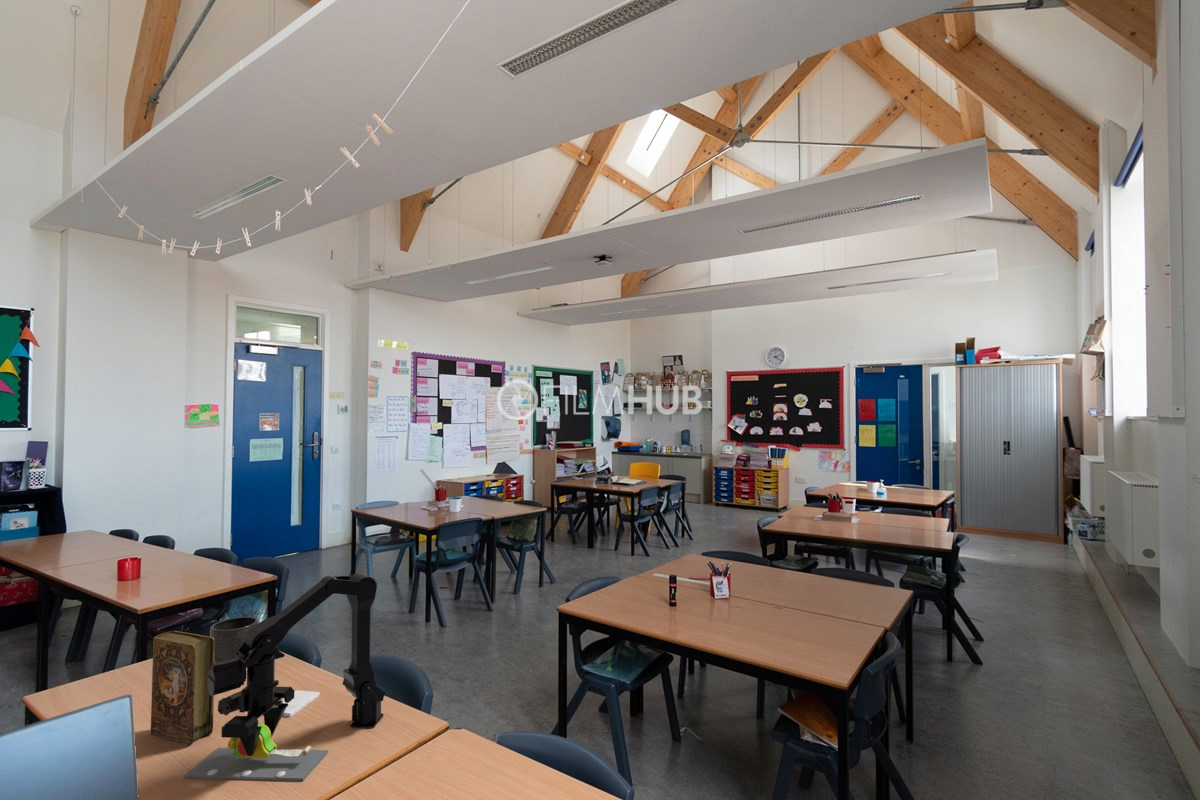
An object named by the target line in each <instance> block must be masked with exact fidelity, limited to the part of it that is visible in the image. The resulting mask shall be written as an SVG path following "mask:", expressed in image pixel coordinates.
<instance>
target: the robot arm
mask: <svg viewBox="0 0 1200 800" xmlns="http://www.w3.org/2000/svg"><path fill="white" fill-rule="evenodd" d="M377 588H378V583H377V580H375V578H374V577H372V576H369V575H366V574H364V573H360V572H356V573H353V574H352V575H338V576H336V575H335V576H334V575H326V576H324V577H322V578H321V579H320V581H319V582H317V583H316V584H315V585H314V586H312V587H311V588H310V589H308V590H307V591H306V592H305V593H303V594H302V595H301V596H300V597H298V598H297V599H296V600H295V601H293V602H292V603H290V605H288V606H287V607H286V608H284V609H283V610H282V611H280V612H279V613H277V614H275V615H272V616H270V617H267V618H265V619H263V620H261V621H259V623H258V624H256V625H255V626H253V627H251V628H250V629H249V630H248V631H247V633H246V636H245V640H244V642H243V643H242V645H241V646H240V647H239V649H238V650H237V652H236V653H235V655H234V656H235V657H236V658H234V659H230V660H227V661H223V662H216V661H215V662H214V663H212V664H211V669H210V671H209V676H208V677H207V683H208V690H209V694H210V696H214V697H215V696H216V695H220V694H223V693H226V692H227V693H228V692H229V691H233V690H237V689H239V688H240V689H241V687H242V686H244V685H245V682H246V686H245V687H243V688H242V689H241V690H239V691H236V692H235V693H232V694H231V695H228V696H226V697H222V698H221V699H219V700H218V702H217V712H218V714H220V715H224V716H229V714H231V713H234V712H236V711H239V713H245V712H247V715H235V716H234V717H232V718H231V719H230V720H228V721H226V722H225V724H224V725H223V726H222V727H221V738H229V739H231V738H240V740H241V741H242V743H243V746H244V748H245V751H246V753H247V755H248V756H252V755H253V754H254V751H255V748H256V745H257V741H258V738H259V735H260V732H261V728H262V727H261V726H258V723H259V719H260V718H261V717H262V716H263V722H264V723H263V724H265V725H266V726H267V727H268V728H269V729H270V731H271V737H272V738H273V736H274V734H275V731H276V729H277V727H278V725H279V723H280V721H281V719H282V717H283V716H282V715H283V713H284V711H285V709H286V707H287V706H288V703H289V702H290V701H291V700H292V699H294V691H295V689H294V688H293V687H292V686H278V685H279V681H280V680H277V679H276V680H275V672H276V671H275V670H276V669H275V668H276V666H275V665H276V660H278V659H281V658H284V657H285V656H286V654H285V653H284V652H282V651H281V650H280V649H279V648H278V646H279V644H281V642H283V641H284V640H285V638H286V637H287V634H288V633H289V631H291V629H292V628H293V627H294V626H295V625H296V624H298V623H299V622H300V621H302V620H303V619H304V618H306V616H308V615H309V614H311V612H313V611H314V610H315V609H316V608H318V607H319V606H320V605H322V603H323V602H325V601H326V600H327V599H328V598H330V597H331V596H332V595H334V594H335V595H337V594H339V595H346V596H347V601H348V603H349V604H350V607H351V661H350V663H349V667H348V668H346V669H343V670H342V674H343V680H342V686H344V687H345V690H346V691H347V692H349V693H350V694H351V696H352V697H354V698H355V699H354V700H353V705H352V706H351V721H352V723H351V724H350V728H366V729H367V728H369V729H370V728H371V729H372V728H373V729H374V728H375V727H376V725H377V724H379V722H380V721H381V719H383V718H384V713H382V701H384V698H385V695H386V692H385V691H384V690H383V689H381V688H380V687H378V686H377V679H376V673H375V671H374V667H373V665H372V662H371V608H372V606H373V604H374V601H375V600H376V595H377V590H378V589H377ZM250 650H252V652H251V653H250V654H249V653H248V652H249V651H250ZM282 699H284V701H285V702H286V703H283V701H282Z"/></svg>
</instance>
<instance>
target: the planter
mask: <svg viewBox="0 0 1200 800" xmlns="http://www.w3.org/2000/svg"><path fill="white" fill-rule="evenodd" d="M258 623H260V621H259V619H258V618H257V617H255V616H239V617H231V618H227V619H222V620H220V621H217V622H216V623H213V624H212V625H211V626H210V628H209V637H213V638H214V639H215V660H214V662H215V663H216V662H223V661H227V660H230V659H234V658H236V657H235V656H234V655H235V653H236V652H237V650H238V649H239V647H240V646H241V645H242V643H243V642H244V640H245V636H246V633H247V631H248V630H249V629H250V628H251V627H253V626H255V625H256V624H258ZM251 652H252V650H250V651H249V652H248V653H249V654H250V653H251Z"/></svg>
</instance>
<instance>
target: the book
mask: <svg viewBox="0 0 1200 800" xmlns="http://www.w3.org/2000/svg"><path fill="white" fill-rule="evenodd" d="M152 641H153V642H152V673H151V674H152V675H151V701H150V702H151V703H150V704H151V707H150V708H151V711H150V737H154V738H158V739H162V740H166V741H170V742H173V743H178V744H181V745H186V746H192V745H193V743H194V742H195V741H197V740H199V739H200V738H201V739H202V738H203V737H207V736H209V735H211V734H213V731H214V710H215V709H214V707H215V706H214V705H215V702H214V699H215V695H214V696H210V694H209V690H208V683H207V677H208V676H209V671H210V669H211V664H212V663H215V639H214V638H213V637H210V636H208V635H203V634H196V633H190V632H184V631H178V630H171V631H165V632H162V633H160V634H157V635H155V636H153V639H152Z"/></svg>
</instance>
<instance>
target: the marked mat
mask: <svg viewBox="0 0 1200 800" xmlns="http://www.w3.org/2000/svg"><path fill="white" fill-rule="evenodd" d="M235 749H236V748H235ZM235 749H230V748H229V747H217V748H215V750H213V751H212V752H211V753H209V754H208V755H207V756H206V757H204V758H203V759H202V760H201V761H200V762H198V763H197V764H196V765H195V766H193V767H192V768H191V769H190V770H188V771H187V772H186V773H184V774H183V778H184V777H190V778H189V779H209V780H211V779H216V780H217V779H218V780H245V781H246V780H248V781H249V780H251V781H256V780H257V781H282V780H291V781H293V782H295V781H296V782H299V781H298V780H304V781H305V780H306V779H307V777H308V776H309V775H310V774H311V773H312V772H313V771H314V769H316V767H317V766H318V765H319V764H320V763H321V762H322V761H323V760H324V758H325V757H326V756H327V755H328V754H329V753H328V752H329V750H328V749H311V750H310V751H309V753H308V754H307V755H306V756H303V755H302V756H300V757H287V756H282V755H276V754H273V755H270V756H269V757H268V758H245V757H235V756H233V753H234V751H235ZM277 750H300V749H298V748H297V749H295V748H293V749H291V748H277ZM327 753H328V754H327ZM321 760H322V761H321ZM311 771H312V772H311ZM310 772H311V773H310ZM291 781H290V782H291Z"/></svg>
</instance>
